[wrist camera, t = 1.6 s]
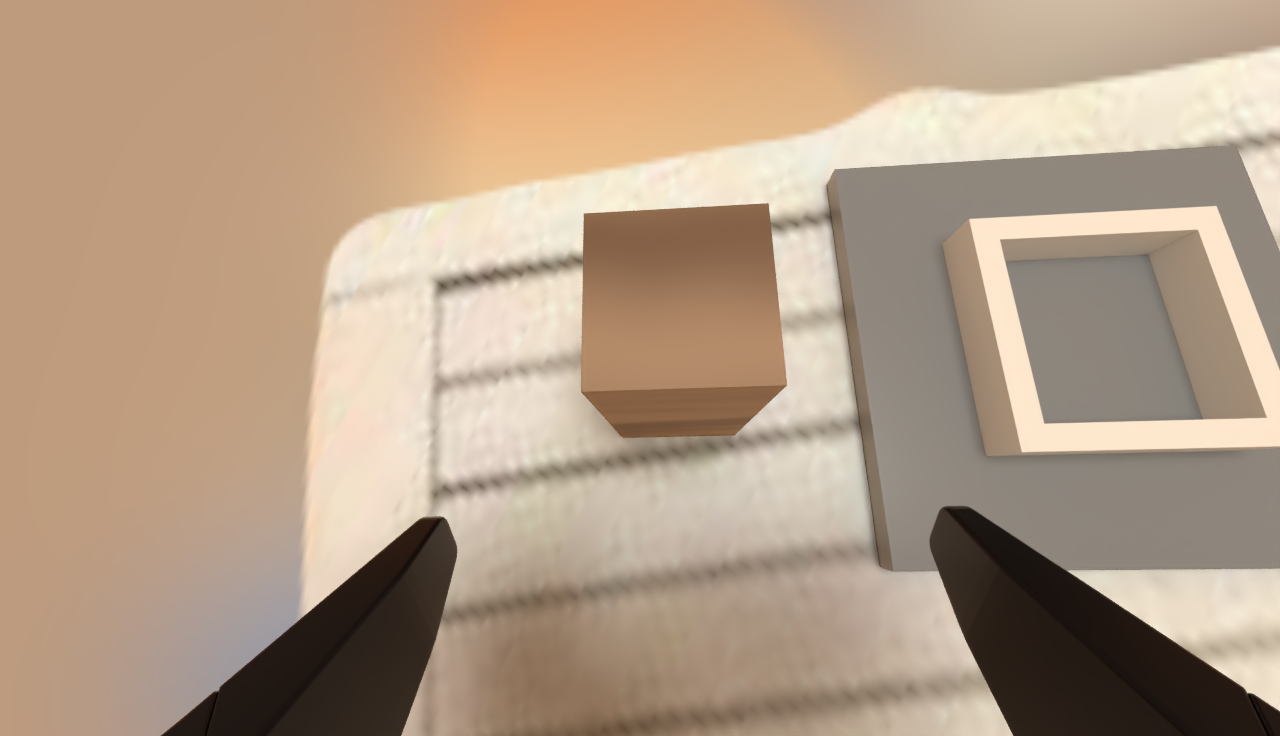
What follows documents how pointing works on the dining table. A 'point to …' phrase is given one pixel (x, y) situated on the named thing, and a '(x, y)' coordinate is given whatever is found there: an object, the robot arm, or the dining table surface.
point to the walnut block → (680, 319)
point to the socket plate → (1068, 355)
